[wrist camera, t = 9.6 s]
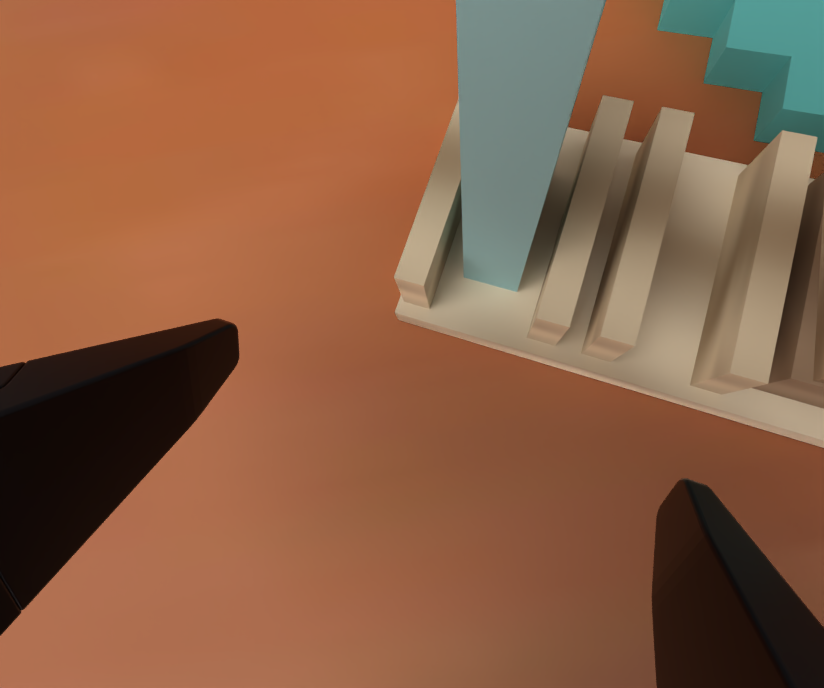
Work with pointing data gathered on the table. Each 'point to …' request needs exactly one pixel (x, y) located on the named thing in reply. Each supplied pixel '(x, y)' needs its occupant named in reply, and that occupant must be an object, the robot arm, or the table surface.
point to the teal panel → (514, 120)
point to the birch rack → (634, 267)
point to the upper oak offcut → (820, 320)
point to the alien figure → (763, 56)
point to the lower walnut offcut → (801, 311)
